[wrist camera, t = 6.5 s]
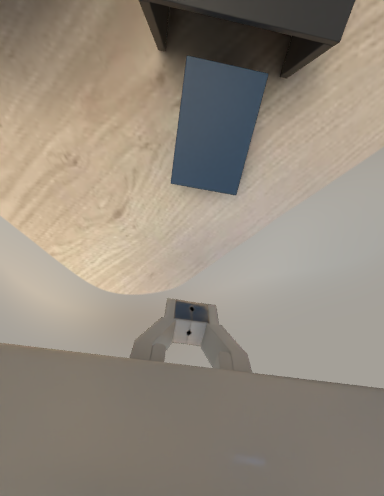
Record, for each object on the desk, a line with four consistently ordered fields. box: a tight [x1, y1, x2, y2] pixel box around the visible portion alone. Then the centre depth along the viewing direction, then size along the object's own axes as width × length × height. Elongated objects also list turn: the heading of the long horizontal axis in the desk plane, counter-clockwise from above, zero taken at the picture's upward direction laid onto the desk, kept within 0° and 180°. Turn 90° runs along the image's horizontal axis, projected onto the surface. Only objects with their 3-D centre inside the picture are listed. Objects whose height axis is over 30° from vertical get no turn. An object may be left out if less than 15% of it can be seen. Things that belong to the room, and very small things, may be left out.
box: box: [171, 55, 268, 195], centre depth 20 cm, size 6×9×6 cm
